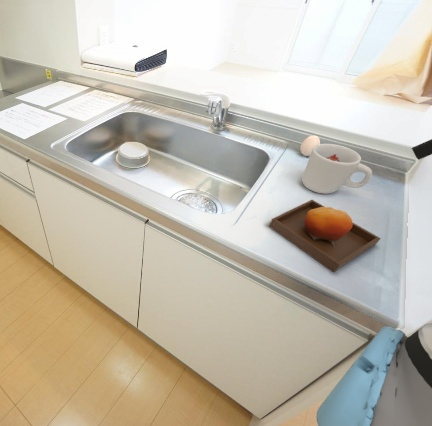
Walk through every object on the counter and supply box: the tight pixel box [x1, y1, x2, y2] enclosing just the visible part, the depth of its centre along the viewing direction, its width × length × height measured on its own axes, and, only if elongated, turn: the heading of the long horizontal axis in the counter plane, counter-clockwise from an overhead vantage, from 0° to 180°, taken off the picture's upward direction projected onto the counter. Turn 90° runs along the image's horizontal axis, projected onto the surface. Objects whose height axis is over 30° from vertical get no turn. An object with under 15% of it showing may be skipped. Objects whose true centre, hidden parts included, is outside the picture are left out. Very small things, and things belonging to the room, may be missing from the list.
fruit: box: [305, 206, 354, 245], centre depth 60 cm, size 8×8×8 cm
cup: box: [301, 143, 373, 194], centre depth 72 cm, size 14×10×10 cm
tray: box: [268, 199, 382, 273], centre depth 62 cm, size 15×14×2 cm
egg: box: [299, 134, 321, 157], centre depth 87 cm, size 5×5×7 cm
